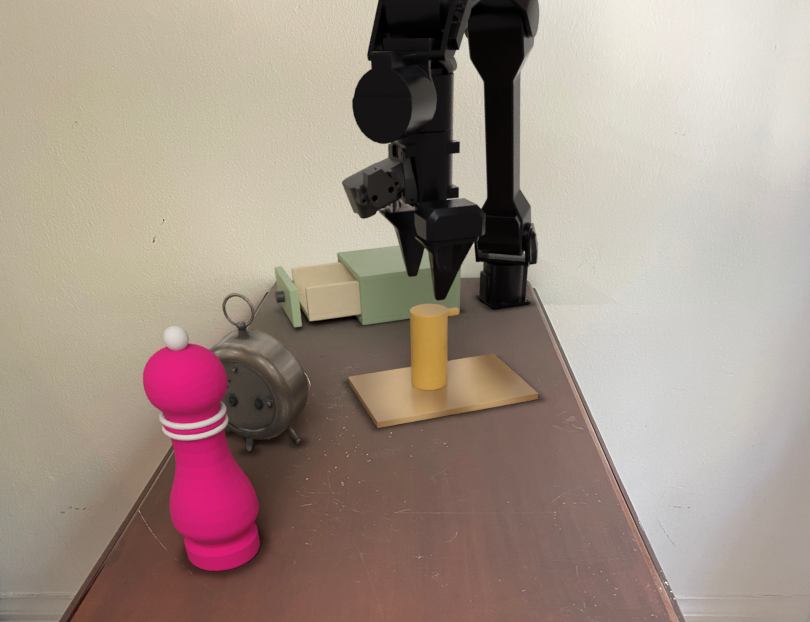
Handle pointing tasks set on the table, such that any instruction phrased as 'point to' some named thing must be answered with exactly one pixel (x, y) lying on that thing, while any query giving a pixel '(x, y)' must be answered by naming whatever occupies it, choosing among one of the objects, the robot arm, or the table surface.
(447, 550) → the table surface
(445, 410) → the board
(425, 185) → the robot arm
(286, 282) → the drawer
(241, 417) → the alarm clock
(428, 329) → the yellow cylinder
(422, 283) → the cabinet
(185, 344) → the pepper mill
